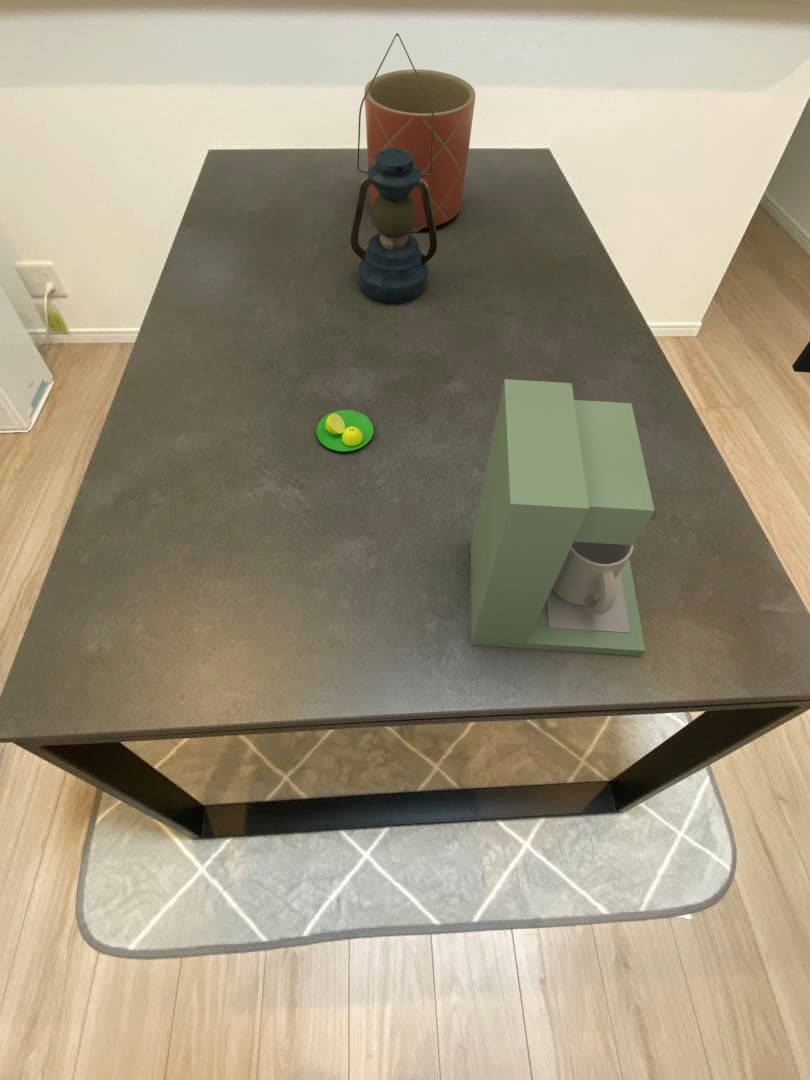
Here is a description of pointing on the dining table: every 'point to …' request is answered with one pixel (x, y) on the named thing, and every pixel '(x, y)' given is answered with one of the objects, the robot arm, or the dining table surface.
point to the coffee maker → (556, 519)
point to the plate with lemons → (344, 430)
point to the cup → (592, 575)
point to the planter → (423, 133)
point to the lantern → (394, 223)
